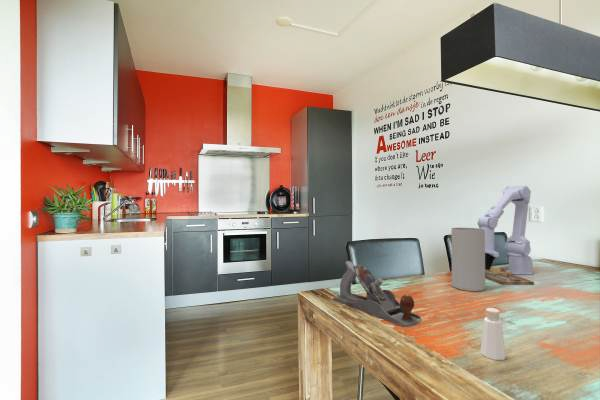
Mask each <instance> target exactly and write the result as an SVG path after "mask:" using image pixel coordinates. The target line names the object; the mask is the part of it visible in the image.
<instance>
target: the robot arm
mask: <svg viewBox="0 0 600 400" xmlns="http://www.w3.org/2000/svg"><path fill="white" fill-rule="evenodd" d="M531 191H532V190H531V189H530V188H529V187H528V185H521V186H520V185H519V186H510V185H509V186H505V188H504V189H503V191H502V196H501V198H500V199H499V201H498V202H497V204H496V205H491V207H490V208H489V209H488V210H487V212H486V213H485V214H484V215H483V216H480V218H478V220H477V226H478V228H480V229H485V269H486V270H487V271H490V267H493V263H494V261H495V260H496V258H499V257H500V252H498V251H496V250H495V229H496V228H497V226H498V222H499V219H500V218H501V217H502V215H504V209H505V208H506V207H507V206H508V205H510V202H511V203H512V204H514V206H515V208H514V216H513V217H514V218H513V225H512V232H511V235H510V236H509V237H507V238H506V242H505V244H504V250H505V252H506V255H508V269H505V270H504V272H512V275H515V276H518V275H534V274H535V273H534V272H533V259H532V257H531V256H530V254H531V241H530V240H529V239H528V238H526V227H527V219H528V210H529V203H531V194H532V193H531Z"/></svg>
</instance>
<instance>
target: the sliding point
mask: <svg viewBox="0 0 600 400" xmlns="http://www.w3.org/2000/svg"><path fill="white" fill-rule="evenodd" d="M489 271H490V273H492V274H507V276H509V274H512V272H506V271H504V272H500V271H501V267H498V266H491V267H490V270H489ZM512 275H513V274H512Z"/></svg>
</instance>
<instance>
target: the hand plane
mask: <svg viewBox="0 0 600 400" xmlns="http://www.w3.org/2000/svg"><path fill="white" fill-rule="evenodd" d="M345 265H346V269H347V270H346V271H345V273H344V274H343V276H342V277H341V280H340V284H339V294H340V296H337V297H336V296H334V297H332V301H334V302H337V303H340V304H342V305H344V304H345V305H344V306H347V307H350V308H352V309H356V310H357V311H361V312H362V313H366V314H369V315H370V316H374V317H375V318H378V319H380V320H383V321H385V322H389V323H392V324H394V325H397V326H400V327H402V328H408V327H413V326H416V325H418V324H420V323H421V322H422V317H421V315H419V314H417V313H415V312H412V310H413V309H414V307H415V301H414V298H413V296H411V295H409V294H403V295H402V296H401V297H400V300H397V299H396V295H395V294H394V292H392V291H391V290H389V289H382V287H381V286H382V284H383V283H384V280H383V278H381V277H378V278H375V277H374V275H373V274H372V272H371V271H370V270H368V268H367V267H366V266H365V265H364V264H359V265H355V264H354V263H353V262H352V261H351V260H346V261H345ZM356 278H357V280H358V281H359V283H360V284H361V286H362V288H363V290H364V291H365V292H366V296H363V295H360V294H356V293H353V292H352V285H353V282H354V280H355V279H356Z"/></svg>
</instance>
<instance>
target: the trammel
mask: <svg viewBox="0 0 600 400" xmlns="http://www.w3.org/2000/svg"><path fill="white" fill-rule="evenodd" d="M489 271H490V270H486V269H485V273H486V274H488V275H491V276H493V277H496V278H498V279H501V280H503V281H506V282H509V279H508V278H505V277H502V276H500V275H497V274H492V273H490V272H489Z"/></svg>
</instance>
